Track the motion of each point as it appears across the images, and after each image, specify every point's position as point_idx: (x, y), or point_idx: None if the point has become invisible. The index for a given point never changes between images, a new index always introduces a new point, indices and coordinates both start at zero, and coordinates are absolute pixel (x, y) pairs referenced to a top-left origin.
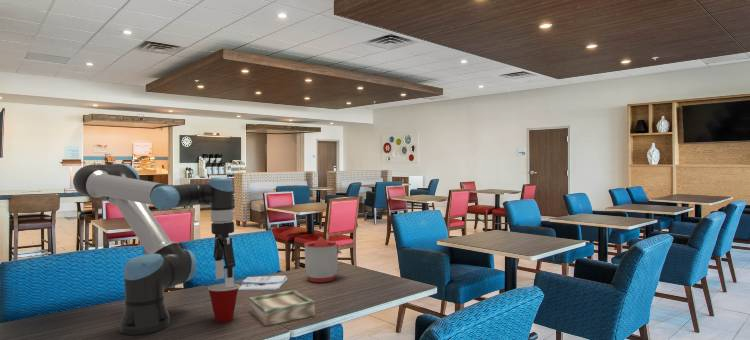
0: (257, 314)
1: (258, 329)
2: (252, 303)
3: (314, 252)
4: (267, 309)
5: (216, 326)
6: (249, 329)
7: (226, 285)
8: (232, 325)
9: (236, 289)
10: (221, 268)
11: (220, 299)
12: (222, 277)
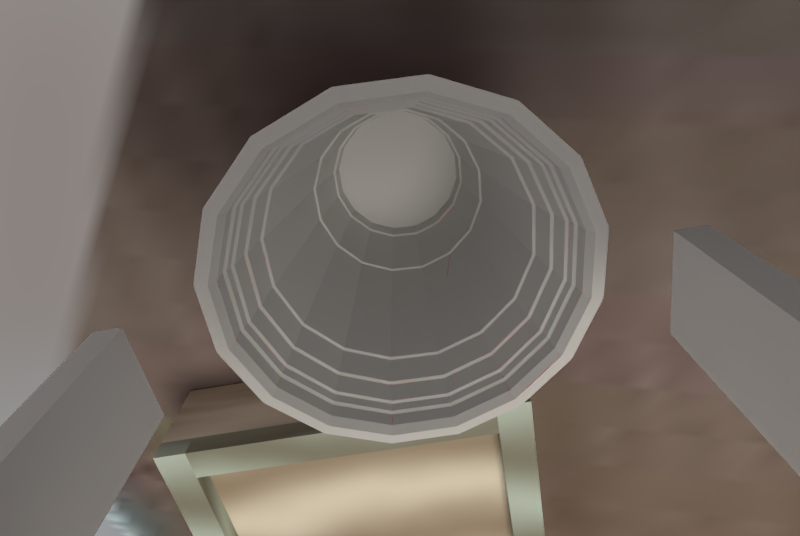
0: None
1: (139, 352)
2: None
3: None
4: (184, 472)
5: (271, 110)
6: (151, 308)
7: (78, 358)
8: None
9: (310, 397)
10: (772, 410)
11: (267, 204)
12: (677, 323)
